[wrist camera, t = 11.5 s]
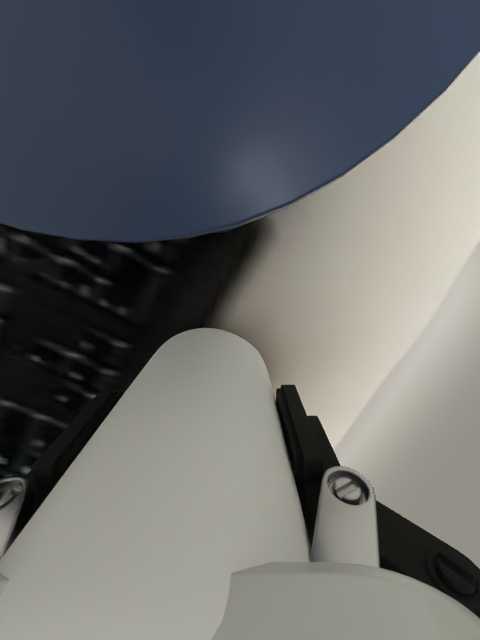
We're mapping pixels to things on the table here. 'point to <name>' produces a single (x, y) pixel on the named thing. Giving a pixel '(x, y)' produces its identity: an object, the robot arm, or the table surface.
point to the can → (161, 505)
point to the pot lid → (206, 105)
